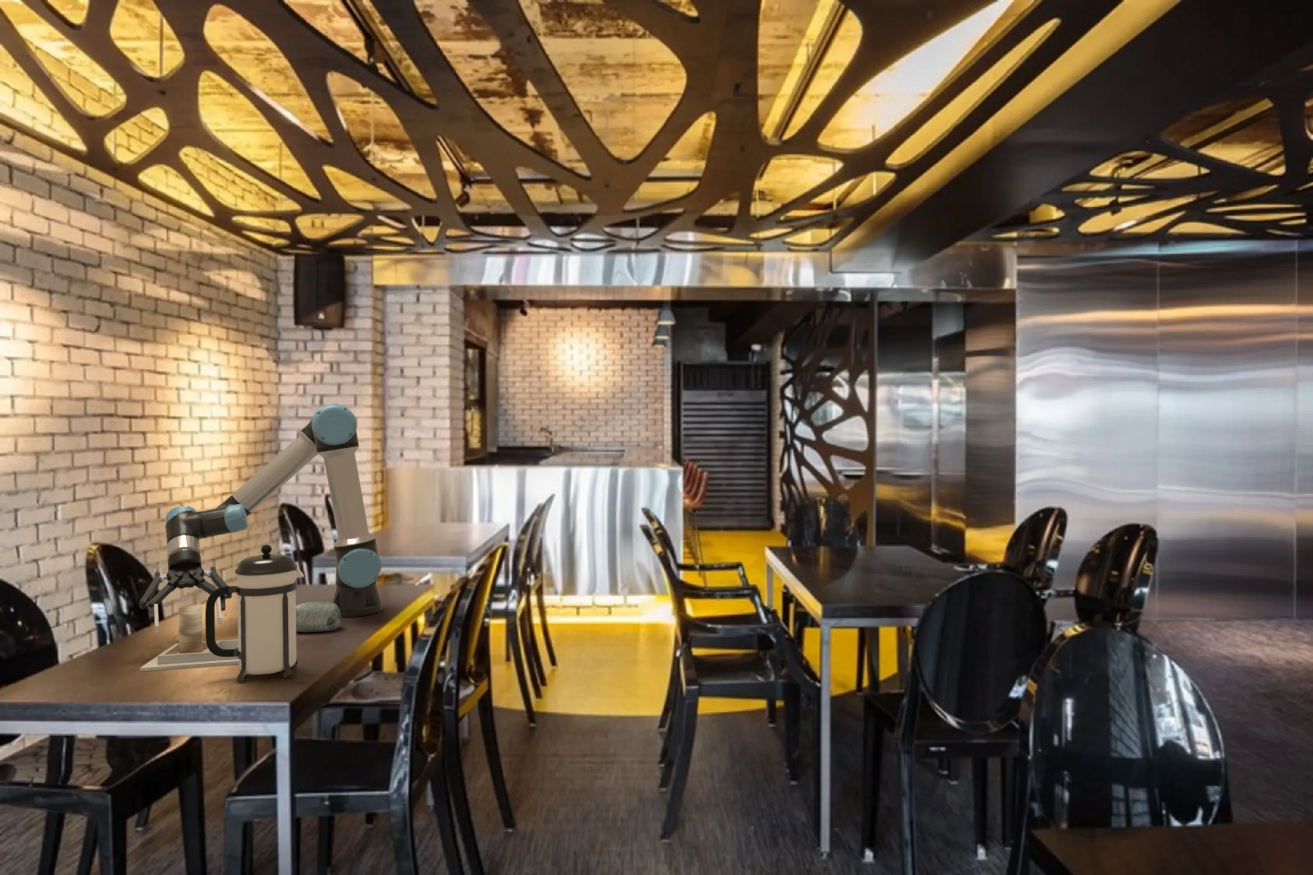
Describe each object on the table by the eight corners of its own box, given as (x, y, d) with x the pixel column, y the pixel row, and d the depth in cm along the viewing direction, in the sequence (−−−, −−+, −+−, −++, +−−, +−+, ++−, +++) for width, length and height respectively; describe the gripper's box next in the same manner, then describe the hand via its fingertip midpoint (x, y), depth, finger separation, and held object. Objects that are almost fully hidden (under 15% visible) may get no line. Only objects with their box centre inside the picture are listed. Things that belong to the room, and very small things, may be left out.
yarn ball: (350, 613, 227) (335, 587, 222) (340, 636, 218) (324, 609, 214) (307, 624, 228) (290, 598, 223) (295, 647, 219) (278, 621, 215)
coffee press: (275, 660, 191) (274, 538, 191) (317, 670, 183) (315, 542, 183) (204, 680, 176) (202, 547, 176) (245, 691, 168) (243, 552, 168)
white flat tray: (276, 645, 205) (276, 634, 205) (260, 662, 190) (260, 651, 190) (166, 653, 199) (165, 642, 199) (140, 671, 184) (139, 659, 184)
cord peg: (205, 651, 197) (204, 603, 197) (198, 656, 192) (198, 607, 192) (183, 653, 195) (182, 605, 195) (175, 658, 191) (175, 609, 191)
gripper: (236, 560, 217) (244, 625, 204) (127, 571, 203) (129, 641, 190) (238, 543, 212) (246, 609, 200) (127, 553, 198) (128, 624, 186)
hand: (189, 625), depth 195 cm, fingers open, 13 cm apart
